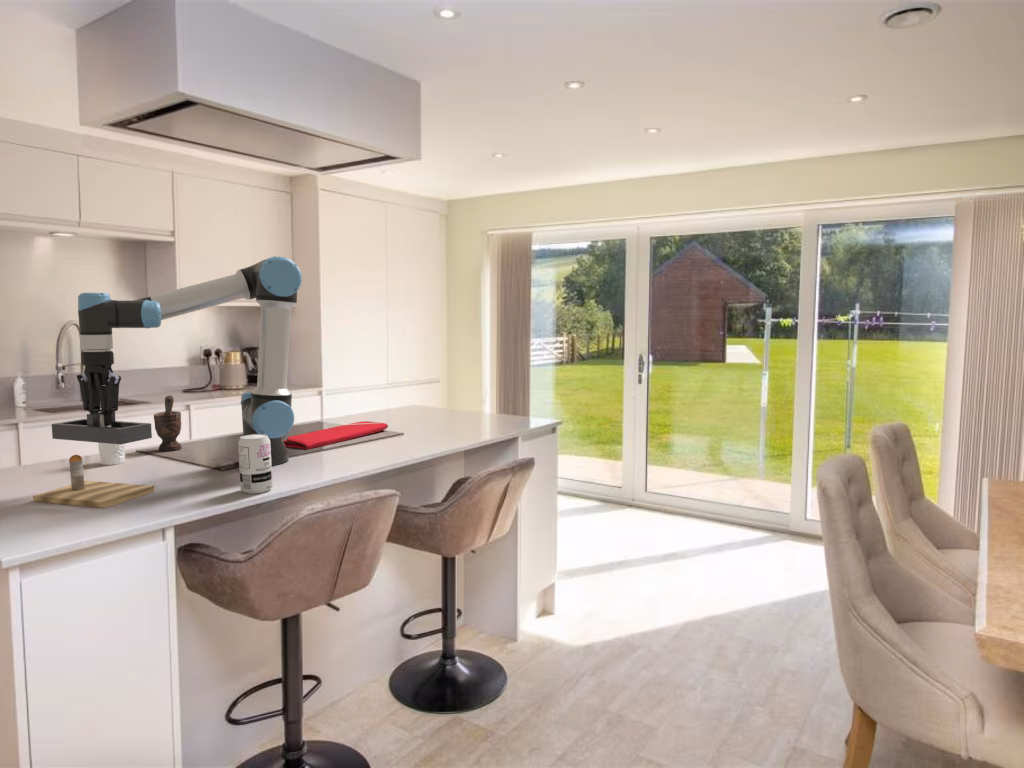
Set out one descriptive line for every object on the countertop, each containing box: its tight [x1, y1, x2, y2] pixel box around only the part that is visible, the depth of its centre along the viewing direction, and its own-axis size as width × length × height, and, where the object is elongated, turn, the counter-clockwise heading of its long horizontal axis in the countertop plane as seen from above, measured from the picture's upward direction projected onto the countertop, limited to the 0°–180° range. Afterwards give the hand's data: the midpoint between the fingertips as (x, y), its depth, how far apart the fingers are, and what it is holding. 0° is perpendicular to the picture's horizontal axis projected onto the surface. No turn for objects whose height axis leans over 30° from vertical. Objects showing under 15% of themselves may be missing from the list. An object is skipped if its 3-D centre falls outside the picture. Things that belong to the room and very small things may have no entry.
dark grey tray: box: [51, 411, 153, 445], centre depth 188 cm, size 10×24×7 cm, turn 71°
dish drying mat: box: [283, 420, 389, 450], centre depth 263 cm, size 16×41×4 cm, turn 146°
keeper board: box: [32, 454, 156, 509], centre depth 186 cm, size 24×16×11 cm, turn 73°
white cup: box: [97, 443, 126, 466], centre depth 225 cm, size 8×8×10 cm
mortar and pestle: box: [153, 394, 182, 452], centre depth 244 cm, size 12×9×20 cm
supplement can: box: [237, 434, 274, 495], centre depth 189 cm, size 8×8×15 cm
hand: (102, 436), depth 189 cm, fingers closed on dark grey tray, 2 cm apart
